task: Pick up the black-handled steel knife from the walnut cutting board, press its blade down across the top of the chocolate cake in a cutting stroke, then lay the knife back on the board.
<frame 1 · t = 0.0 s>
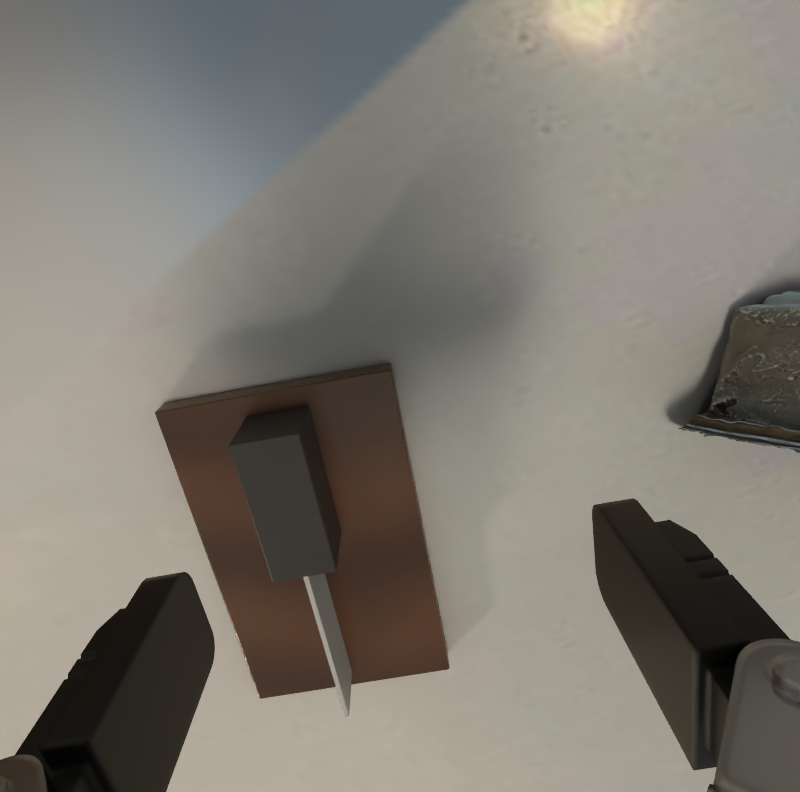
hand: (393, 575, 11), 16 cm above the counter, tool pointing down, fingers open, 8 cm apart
knife: (295, 477, 26), point 1 cm above the counter, touching board
board: (319, 540, 29), on the counter
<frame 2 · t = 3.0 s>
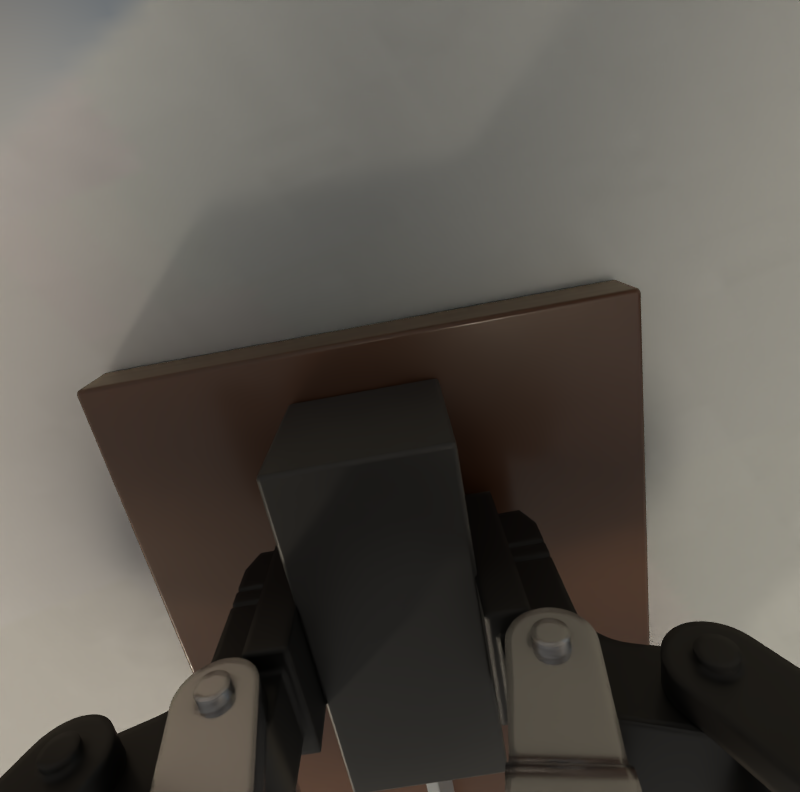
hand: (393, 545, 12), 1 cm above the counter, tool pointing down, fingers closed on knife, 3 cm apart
knife: (394, 538, 12), point 1 cm above the counter, touching board, gripper
board: (424, 651, 15), on the counter
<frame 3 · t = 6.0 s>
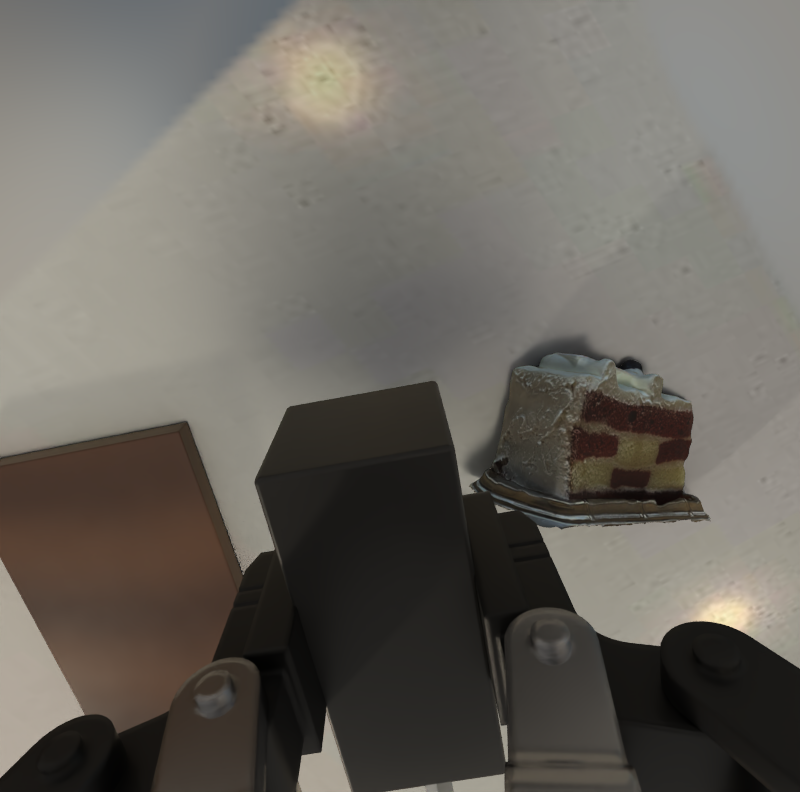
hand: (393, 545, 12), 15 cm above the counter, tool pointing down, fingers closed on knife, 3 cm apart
chocolate cake: (594, 420, 27), on the counter
knife: (393, 539, 12), point 15 cm above the counter, touching gripper
board: (144, 590, 30), on the counter
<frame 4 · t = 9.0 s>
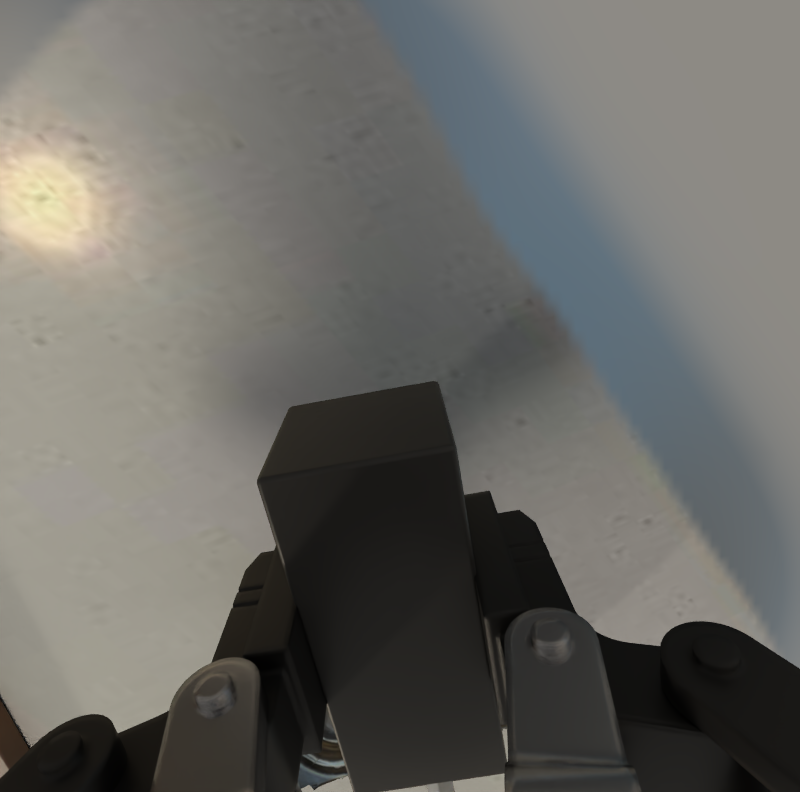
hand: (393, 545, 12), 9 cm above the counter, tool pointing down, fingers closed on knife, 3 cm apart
chocolate cake: (427, 583, 23), on the counter
knife: (394, 539, 12), point 8 cm above the counter, touching gripper
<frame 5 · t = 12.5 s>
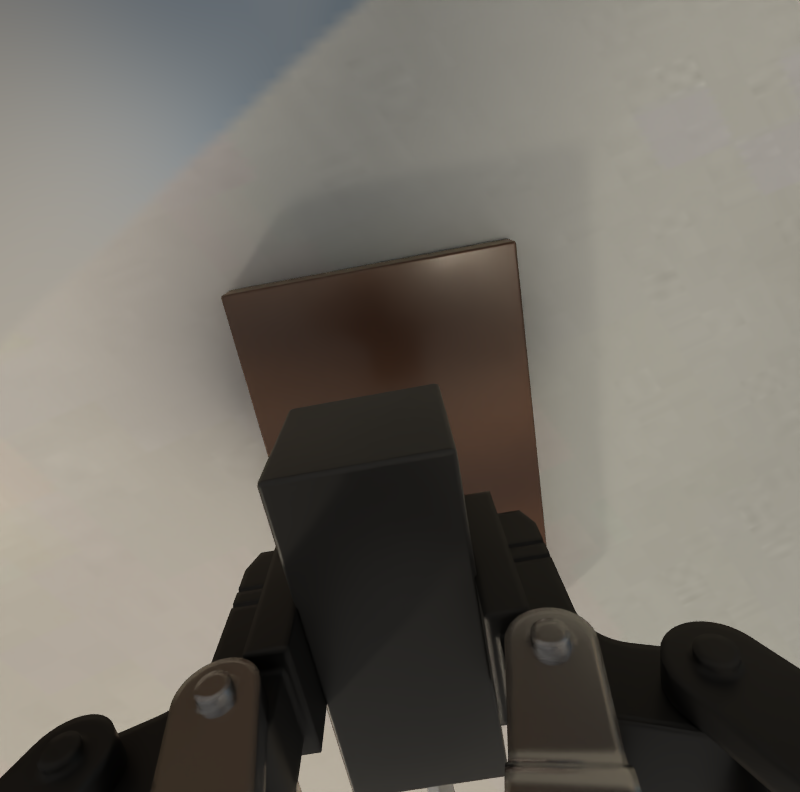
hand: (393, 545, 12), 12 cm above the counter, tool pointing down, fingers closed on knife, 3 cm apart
knife: (395, 542, 12), point 11 cm above the counter, touching gripper
board: (407, 468, 24), on the counter
when the fingers open (1 cm above the counter, at t = 15.1 s): knife stays where it is, resting on board.
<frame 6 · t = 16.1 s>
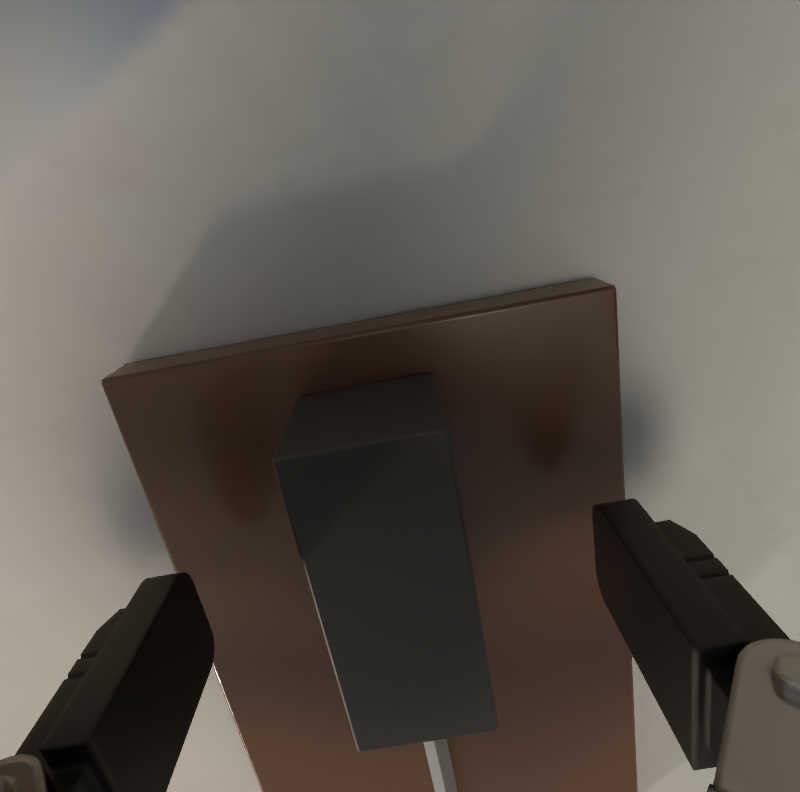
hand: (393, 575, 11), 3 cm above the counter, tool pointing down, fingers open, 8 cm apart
knife: (394, 520, 13), point 1 cm above the counter, touching board
board: (420, 627, 16), on the counter
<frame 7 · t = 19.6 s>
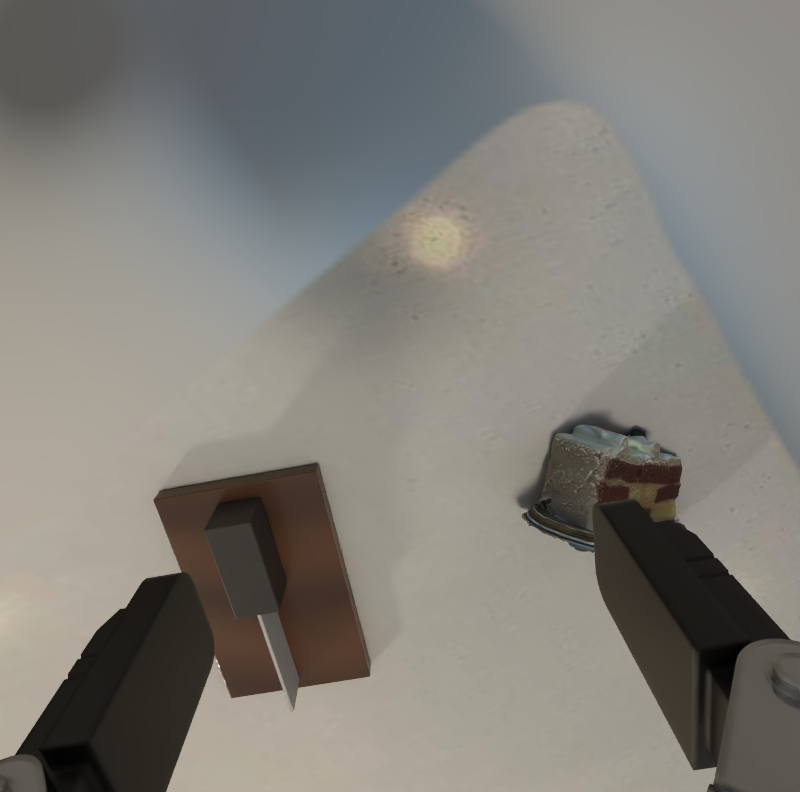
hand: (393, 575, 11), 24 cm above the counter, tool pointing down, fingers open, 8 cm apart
chocolate cake: (610, 469, 38), on the counter
knife: (253, 544, 37), point 1 cm above the counter, touching board
board: (272, 583, 40), on the counter
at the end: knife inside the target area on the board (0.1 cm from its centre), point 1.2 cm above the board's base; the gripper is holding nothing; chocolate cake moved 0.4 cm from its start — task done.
